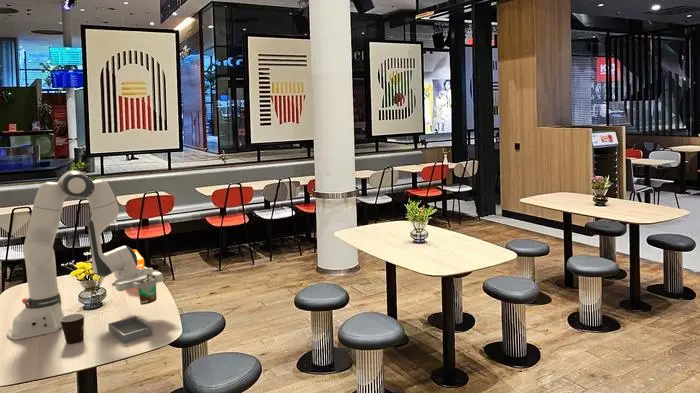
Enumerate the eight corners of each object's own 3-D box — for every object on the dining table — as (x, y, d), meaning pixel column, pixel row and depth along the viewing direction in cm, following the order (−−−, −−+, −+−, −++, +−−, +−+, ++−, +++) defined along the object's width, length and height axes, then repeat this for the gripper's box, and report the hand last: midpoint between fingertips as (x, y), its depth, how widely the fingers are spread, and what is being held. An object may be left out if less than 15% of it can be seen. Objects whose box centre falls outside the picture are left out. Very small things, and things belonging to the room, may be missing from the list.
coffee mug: (77, 345, 220) (74, 322, 219) (58, 345, 222) (55, 321, 220) (95, 334, 231) (93, 311, 230) (77, 333, 233) (74, 310, 231)
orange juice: (136, 284, 300) (133, 247, 298) (146, 285, 295) (143, 248, 293) (123, 287, 293) (120, 250, 292) (132, 288, 288) (130, 250, 287)
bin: (124, 343, 220) (123, 335, 220) (109, 331, 234) (108, 323, 233) (152, 335, 228) (151, 327, 227) (136, 323, 241) (135, 316, 241)
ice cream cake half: (153, 305, 235) (151, 283, 233) (139, 306, 235) (136, 284, 233) (163, 294, 247) (161, 273, 245) (149, 294, 247) (147, 273, 245)
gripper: (109, 276, 244) (120, 283, 233) (155, 267, 257) (167, 273, 247) (111, 290, 245) (122, 297, 234) (156, 280, 258) (168, 286, 248)
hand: (145, 285), depth 240 cm, fingers open, 3 cm apart
